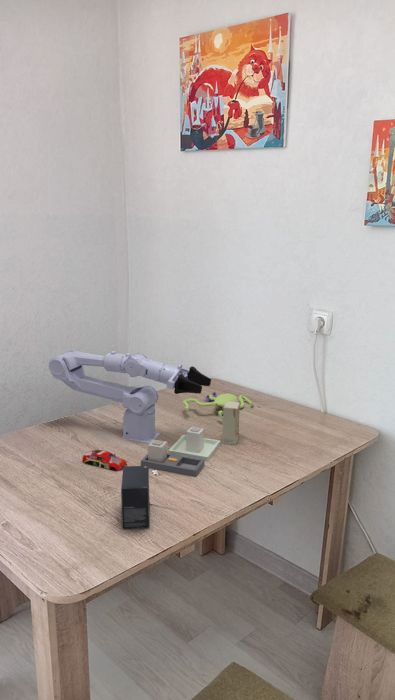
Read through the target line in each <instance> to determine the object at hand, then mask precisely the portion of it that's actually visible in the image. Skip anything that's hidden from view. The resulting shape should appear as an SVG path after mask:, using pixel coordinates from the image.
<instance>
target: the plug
mask: <svg viewBox="0 0 395 700" xmlns="http://www.w3.org/2000/svg"><path fill="white" fill-rule="evenodd" d="M185 435H186V451H190V452H196V453H200V451H201V450H202V449H203V448H204V438H205V429H204V428H202V427H196V426H190V428H188V429H187V430H186V434H185Z"/></svg>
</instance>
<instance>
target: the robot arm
mask: <svg viewBox="0 0 395 700" xmlns="http://www.w3.org/2000/svg"><path fill="white" fill-rule="evenodd" d="M85 366H86V367H87V366H88V367H103V369H104V370H106V371H107V372H112V373H120V374H127V375H129V377H130V378H137V377H142V378H145V379H148V380H152V381H154V382H157V383H161V384H164V385H166V388H168V389H172V390H173V389H174V394H175V395H179V394H200V395H201V393H202V391H203V387H210V386H211V383H212V378H210V377H208V376H206V375H204V374H203V373H202V372H200V371H199V370H198V369H197V368H196V367H195V366H193V365H192V366H190V367H189V368H184V367H183V364H178V366H174V365H170V364H167V363H164V362H160V361H158V360H154V359H151V358H150V359H149V358H148V357H147V355H145V354H143V353H140V352H137V353H134V354H133V355H132V354H131V353H129V352H127V353H126V354H125V353H117V351H116V350H112V351H110V352H108V353H106V355H102V354H101V355H100V354H97V353H95V354H94V353H91V352H84V351H80V350H69V351H66V352H65V353H62V354H61V355H57V356H54V357H52V358H51V359H50V360H49V362H48V368H49V371H50V373H51V375H52V377H53V378H54V379H56V380H60V381H61V382H63V383H64V384H65V385H66V386H67V387H69V388H70V389H71V390H73V391H76V392H80V393H82V394H83V393H84V394H88V395H91V396H94V397H99V398H103V399H107V400H110V401H113V402H114V401H115V402H119V403H122V407H123V408H124V409H125V411H124V413H123V417H122V434H123V435H122V438H121V439H123V440H131V441H134V442H140V443H141V442H142V443H147V444H150V443H151V442H152V441H153V440H156V438H157V437H158V436H159V435H160V434H161V433H160V432H158V431H156V403H158V400H159V398H160V397H159V392H158V390H157V389H156V388H155V387H154V386H152V385H144V386H141V385H132V386H127V385H124V384H120V383H116V382H112V381H108V380H106V379H105V380H104V379H100V378H97V377H92V376H89V375H86V373H85V369H84V367H85Z"/></svg>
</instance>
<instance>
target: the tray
mask: <svg viewBox="0 0 395 700" xmlns="http://www.w3.org/2000/svg"><path fill="white" fill-rule="evenodd" d="M221 442H222V441H221V440H220V439H218V440H217V439H212V438H205V437H204V448H203V449H202V450H201V451H200V453H196V452H190V451H186V434H183V435H182V434H181V436H180V437H179V438H178V440H176V442H175V443H174V444H172V446H171V447H170V448H169V449H167V453H169V454H175V455H181V456H186V457H192V458H198V459H203V460H205V462H208V461H209V460H210V459H211V458H212V456H213V455H214V454H215V453H216V452H217V450H218V449H219V447H220V446H221Z"/></svg>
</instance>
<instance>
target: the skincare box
mask: <svg viewBox="0 0 395 700" xmlns="http://www.w3.org/2000/svg"><path fill="white" fill-rule="evenodd" d="M240 405H241V403H240V401H237V402H230V401H226V403H225V406H224V410H222V411H223V414H222V416H223V420H222V441H221V442H222V445H228V446H237V444H238V441H239V435H240V433H239V432H240V411H241V410H240V409H241V408H240Z"/></svg>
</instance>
